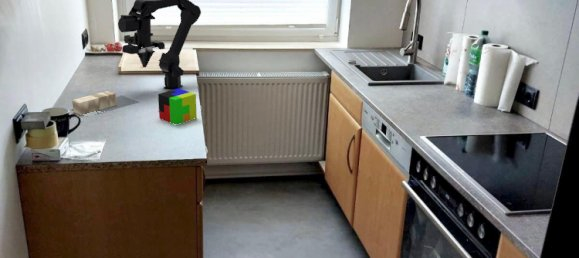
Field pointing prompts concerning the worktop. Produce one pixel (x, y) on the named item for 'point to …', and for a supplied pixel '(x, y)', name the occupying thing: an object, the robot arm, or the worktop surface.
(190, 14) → the robot arm
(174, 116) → the puzzle toy
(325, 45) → the worktop surface
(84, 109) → the birch block
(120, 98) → the slate mat
